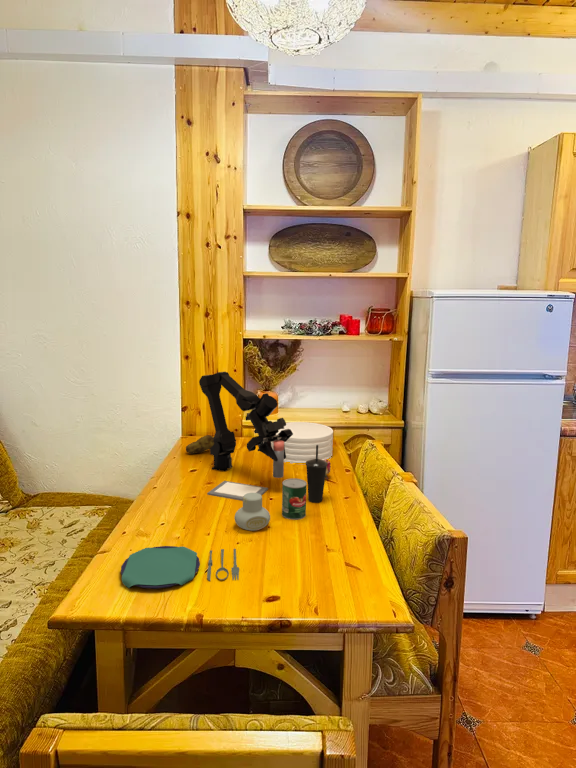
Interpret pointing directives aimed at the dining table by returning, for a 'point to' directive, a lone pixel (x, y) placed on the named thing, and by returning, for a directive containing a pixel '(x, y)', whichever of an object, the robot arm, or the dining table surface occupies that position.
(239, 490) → the writing mat
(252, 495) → the air freshener
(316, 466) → the drinking cup
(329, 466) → the flower
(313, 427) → the plate stack
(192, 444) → the potato
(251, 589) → the dining table surface
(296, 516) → the canned tomato
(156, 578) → the cutlery set
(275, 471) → the marker
